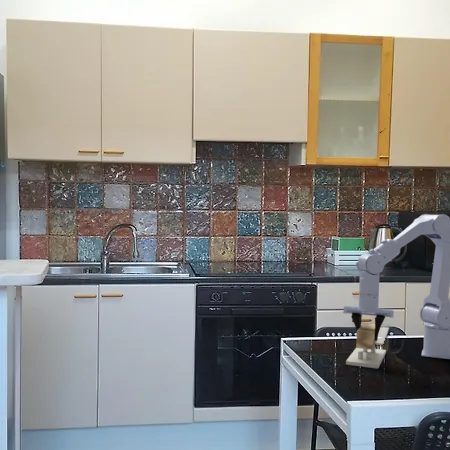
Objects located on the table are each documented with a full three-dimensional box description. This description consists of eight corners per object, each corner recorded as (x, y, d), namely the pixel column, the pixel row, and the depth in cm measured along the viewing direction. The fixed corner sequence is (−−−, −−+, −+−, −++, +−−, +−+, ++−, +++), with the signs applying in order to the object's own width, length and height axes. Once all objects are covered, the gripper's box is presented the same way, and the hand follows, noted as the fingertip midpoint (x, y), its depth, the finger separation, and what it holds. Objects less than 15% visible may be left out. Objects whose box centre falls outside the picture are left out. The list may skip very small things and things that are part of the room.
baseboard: (352, 344, 191) (383, 348, 188) (352, 336, 191) (383, 339, 188) (362, 328, 219) (389, 331, 216) (362, 321, 219) (389, 324, 216)
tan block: (377, 340, 176) (378, 324, 176) (371, 349, 163) (372, 332, 163) (363, 338, 178) (363, 322, 177) (356, 347, 165) (356, 330, 164)
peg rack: (385, 353, 178) (386, 343, 178) (378, 368, 159) (378, 357, 159) (356, 349, 181) (357, 340, 181) (345, 364, 163) (346, 354, 163)
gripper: (342, 293, 169) (340, 339, 169) (392, 297, 164) (391, 344, 164) (346, 290, 176) (344, 334, 176) (395, 294, 170) (393, 339, 170)
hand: (367, 339), depth 170 cm, fingers closed on tan block, 4 cm apart
